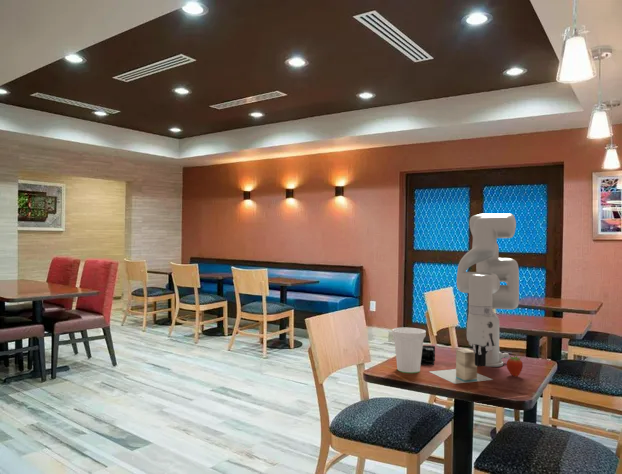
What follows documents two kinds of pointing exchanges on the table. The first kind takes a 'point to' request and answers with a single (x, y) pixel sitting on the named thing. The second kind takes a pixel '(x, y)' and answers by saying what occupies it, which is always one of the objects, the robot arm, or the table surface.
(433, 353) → the black box
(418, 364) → the cup
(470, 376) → the beech block
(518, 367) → the fruit
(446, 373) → the mat
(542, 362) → the table surface
